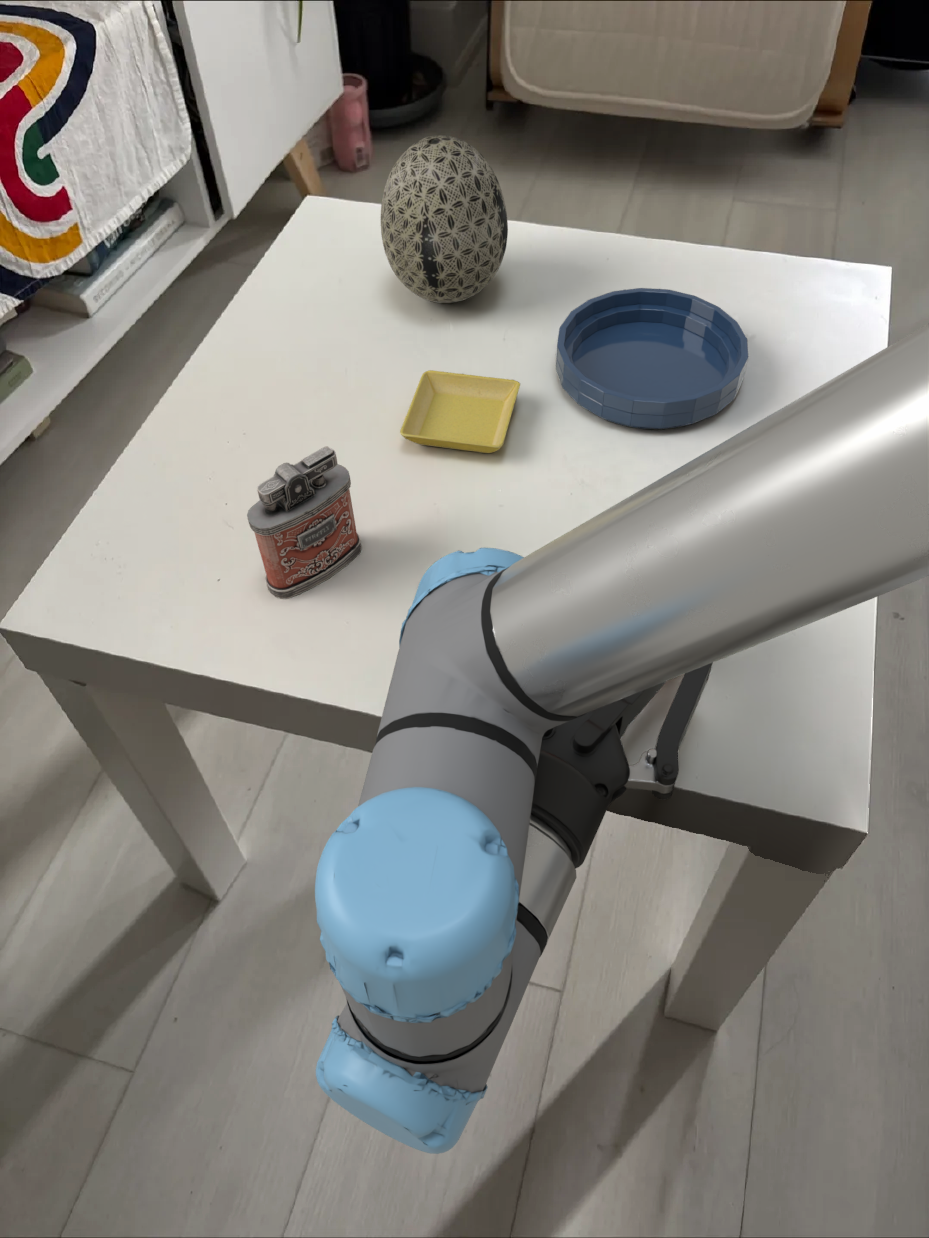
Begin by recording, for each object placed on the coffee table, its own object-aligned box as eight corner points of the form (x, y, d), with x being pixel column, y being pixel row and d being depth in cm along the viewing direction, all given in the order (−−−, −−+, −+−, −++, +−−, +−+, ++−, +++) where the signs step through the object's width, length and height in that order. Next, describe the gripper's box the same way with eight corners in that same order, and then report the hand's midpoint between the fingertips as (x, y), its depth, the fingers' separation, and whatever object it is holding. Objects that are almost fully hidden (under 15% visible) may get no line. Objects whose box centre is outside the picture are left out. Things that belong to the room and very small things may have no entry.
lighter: (283, 606, 71) (257, 509, 63) (258, 581, 72) (228, 483, 64) (371, 551, 74) (355, 452, 66) (344, 528, 75) (326, 428, 68)
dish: (761, 347, 88) (770, 313, 86) (707, 456, 79) (715, 423, 77) (595, 305, 93) (598, 272, 90) (527, 404, 84) (528, 371, 81)
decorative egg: (495, 335, 90) (494, 178, 79) (374, 323, 92) (356, 168, 80) (516, 266, 98) (519, 113, 86) (404, 256, 99) (391, 104, 87)
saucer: (501, 466, 79) (501, 447, 78) (400, 453, 81) (398, 433, 79) (521, 400, 85) (521, 380, 83) (425, 388, 86) (424, 369, 84)
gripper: (379, 807, 58) (535, 547, 71) (664, 935, 53) (777, 628, 65) (365, 742, 52) (538, 471, 65) (685, 878, 47) (805, 553, 60)
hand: (658, 550), depth 65 cm, fingers closed on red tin, 5 cm apart
